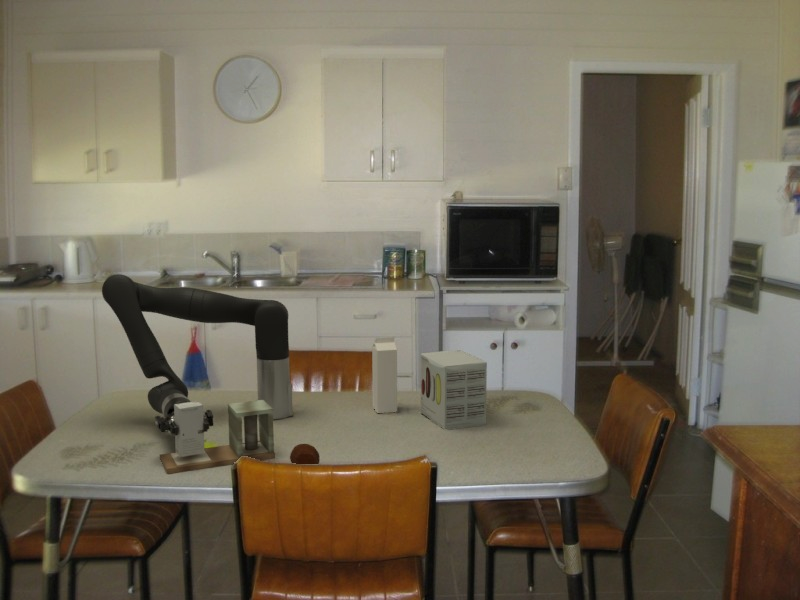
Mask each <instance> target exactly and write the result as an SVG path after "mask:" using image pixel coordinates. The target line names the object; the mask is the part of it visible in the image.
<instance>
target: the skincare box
mask: <svg viewBox="0 0 800 600" xmlns="http://www.w3.org/2000/svg"><path fill="white" fill-rule="evenodd" d="M203 413H204V404H202V403H201V402H199V401H197V400H196V401H191V402H187V403H181V404H174V421H175V424H176V425H177V428H178V435H176V436H174V443H175V444H174V445H175V446H174V447H175V452H176V453H177V454H178V455H179V456H180V457H184V456H190V455H196V454H201V453H204V448H205V432H204V420H203Z"/></svg>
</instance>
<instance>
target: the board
mask: <svg viewBox="0 0 800 600" xmlns="http://www.w3.org/2000/svg"><path fill="white" fill-rule="evenodd" d="M258 415H259V416H258ZM227 416H228V417H227V418H228V421H227V422H228V444H224V445H219V446H218V445H217V446H210V447H204V453H201V454H196V455H190V456H184V457H180V456H179V455H178V454H177V453H176V451H175V452H170V453H169V452H167V453H161V454H159V461H160V460H161V461H160V462H162V463H161V464H163V465H162V467H163V466H164V467H163V468H164V470H165V472H166V474H167V475H169V474H175V473H182V472H188V471H189V470H190V471H195V470H194V469H196V470H202V469H201V468H203V469H209V468H215V467H223V466H228V465H229V464H230V465H233V464H232V463H234V462H236V461H237V460H238V459H239V458H240V457H241V456H248V457H251V458H255V459H260V460H259V461H264V460H268V459H275V458H276V453H275V440H274V439H275V438H274V435H275V434H274V432H275V431H274V419H273V408H271V407H270V406H269V405H268V404H267V403H266V402H265V401H264V400H258V399H257V400H250V401H240V402H234V403H233V402H232V403H227ZM242 420H243V422H242ZM243 427H244V428H243ZM243 429H244V431H243ZM258 431H259V432H258ZM243 432H244V442H243ZM258 434H259V435H258ZM222 465H223V466H222Z"/></svg>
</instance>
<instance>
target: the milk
mask: <svg viewBox="0 0 800 600" xmlns="http://www.w3.org/2000/svg"><path fill="white" fill-rule="evenodd" d="M371 348H372V349H371V351H372V352H371V353H372V354H371V355H372V357H371V358H372V361H371V363H372V370H371V371H372V372H371V373H372V409H373V410H374V409H375V410H374V411H375V412H377V413H383V414H385V413H384V412H395V413H397V412H398V348H397V345H396V343H395V337H394V336H385V337H375V338H374V343H373V345H372V347H371ZM396 411H397V412H396ZM377 413H376V414H377Z"/></svg>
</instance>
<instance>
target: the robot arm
mask: <svg viewBox="0 0 800 600" xmlns="http://www.w3.org/2000/svg"><path fill="white" fill-rule="evenodd" d="M101 286H102V288H101V295H102V298H103V299H104V301H105V302H106V304H107V305H109V307H110V309H111V310H112V312H113V313H114V314H115V317H117V320H118V321H119V323H120V324H121V326H122V329H123V331H124V332H125V335H126V338H128V341H129V344H130V347H131V348H132V349H131V350H132V352H133V354H134V355H135V358H136V361H137V362H138V365H139V367H140V369H141V371H142V374H143V375H144V377H145V378H146V379H155V378H160V377H163V378H166V381H165V382H163V383H160V384H158V385H155V386H153V387H152V388H151V389H149V391H148V393H147V402H148V403H149V405H150V407H151V408H152V410H154V411H156V412H157V413H159V414H161V415H163V416H160V415H156V416H154V418H155V420H154V421H155V423H154V424H155V427H156V429H158V431H159V432H160V433H165V432H167V431H168V432H169V433H170V434H171V435H174V437H175V436H176V435H178V428H177V425H176V424H175V421H174V404H181V403H187V402H192V401H191V400H190V399H189V397H188V396H189V389H188V387H187V385H186V384H185V382H184V381H182V379H181V378H180V377H179V376H178V375H177V374H176V372H175V371H174V370H173V369H172V368H171V366H170V364H169V362H168V360H167V358H166V356H165V354H164V352H163V349H162V347H161V346H160V343H159V342H158V340H157V338H156V336H155V335H154V334H155V333H153V331H152V329H151V327H150V326H149V324H148V321H147V320H146V318H145V316H144V314H143V312H144V313H145V312H146V313H152V314H153V313H154V314H159V315H162V316H166V317H170V318H176V319H181V320H185V321H190V322H196V323H204V324H226V323H228V324H229V323H231V324H232V323H235V324H243V325H249V326H252V327H254V335H255V336H254V339H255V351H256V353H255V354H256V378H257V379H256V380H257V383H256V384H257V385H256V387H257V400H264V401H265V402H266V403H267V404H268V405H269V406H270V407H271V408H273V420H282V419H285V418H288V417H291V416H293V384H292V383H291V382H290V344H289V311H288V309H287V307H286V305H285V304H283V303H282V302H280V301H278V300H273V299H257V298H254V299H253V298H245V297H239V296H238V297H237V296H234V295H230V294H226V293H222V292H218V291H212V290H208V289H207V290H206V289H201V288H196V287H195V288H194V287H184V286H183V287H178V286H177V287H159V286H158V287H156V286H151V285H148V284H147V285H146V284H143V283H138V282H136V281H134V279H132V278H130V277H129V276H127V275H125V274H121V273H118V274H116V273H115V274H113V275H110V276H108V277H107V278H106V279H105V280H104V281H103V284H102V285H101ZM257 417H259V415H257ZM203 420H204V433H206V432H208V430H210V427H214V414H213V412H212V410H211V409H206V411H204V412H203Z"/></svg>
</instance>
